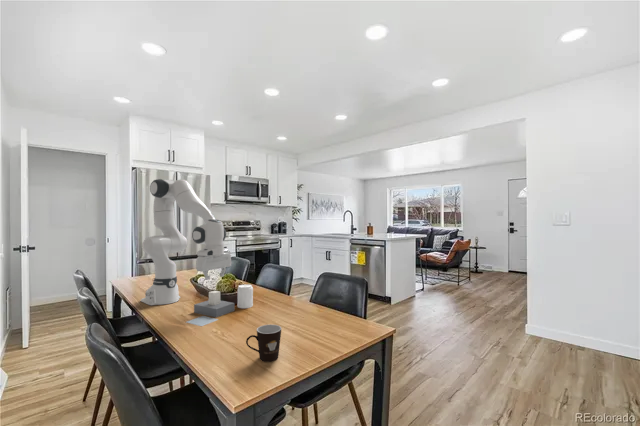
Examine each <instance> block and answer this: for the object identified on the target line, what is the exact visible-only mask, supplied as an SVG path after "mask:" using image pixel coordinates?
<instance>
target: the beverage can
mask: <svg viewBox="0 0 640 426" xmlns="http://www.w3.org/2000/svg"><path fill="white" fill-rule="evenodd" d="M253 296H254V287H253V285H252V284H239V285H238V287H237V308H239V309H250V308H252V307H253V305H254V297H253Z"/></svg>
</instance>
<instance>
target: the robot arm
mask: <svg viewBox="0 0 640 426" xmlns="http://www.w3.org/2000/svg"><path fill="white" fill-rule="evenodd" d="M149 191H150V194H151V195H152V196H153V197H154V199H153V210H152V211H153V225H154V226H155V227H156V229H159V230H160V231H161V232H162V235H152V236H148V237H146V238H145V239H143V242H142V250H143V252H144V253H145V254H146V255H148V256H149V257H150V258H151V260H152V262H153V263H154V264H153V265H154V278H153V279H152V284H151V286H150V287H149V288H147V289H146V291H145V295H144V297H143V298H141V299H140V302H142V303H144V304H146V305H148V306H157V305H159V306H160V305H168V304H173V303H176V302H178V301H179V300H180V299H181V296H180V295H179V286H178V276H177V264H176V262H175V261H173V260H172V259H170V257H169V254H177V253H180V252H183V251H185V250H186V249H187V248H188V239H187V237H186V236H184V234H182V233H181V232H180V231H179V229H178V226H177V223H176V217H175V216H176V215H175V214H176V213H175V205H174V203H175V202H176V205H177V206H178V207H179V209H180V210H181V211H183V212H186V213H188V214H191V215H192V214H193V215H196V216H198V217H200V218H201V219H202V220H203V221H204V222H205V223H203V224H202V225H199V226H195V228H194V229H193V230H192V233H191V236H192V237H191V238H192V240H193V242H194V243H195V244H198V245H205V247H203V248H202V249H200V250H198V251H197V252H196V255H197V257H196V265H195V269H196V271H197V272H200V273H201V272H202V273H203V275H204V280H206V281H207V280H210V279H211V276H210V275H209V271H212V270H218V269H221V272H219V277H225V272H226V270H227V268H229V267H231V266H232V256H231V251H230V250H229V249H225V244H224V243H225V242H224V241H225V239H226V238H227V231H226V229H225V227H224V224H223V222H222V221H221V220H219V219H217V218H216V217H215V215H214V214H213V211H212V210H211V209H210V208H209V206H208V205H206V204H205V203H204V202H203V200H201V199H200V198H199V196H198V195H197V194H196V191H195V190H194V188H193V186H192V185H191V184H190V182H188V181H187V180H186V179H181V178H180V179H177V180H175V179H161V178H158V179H154V180H153V181H152V182H151V183H150V186H149Z"/></svg>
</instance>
